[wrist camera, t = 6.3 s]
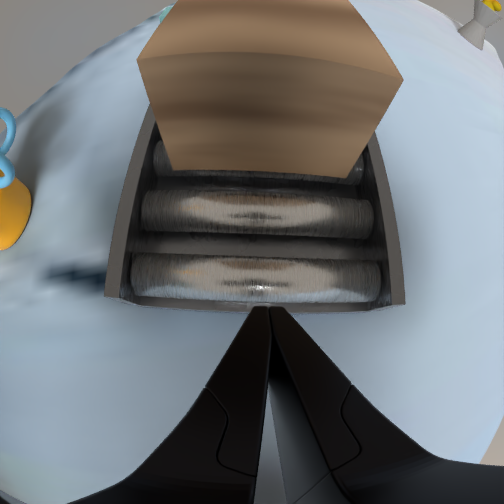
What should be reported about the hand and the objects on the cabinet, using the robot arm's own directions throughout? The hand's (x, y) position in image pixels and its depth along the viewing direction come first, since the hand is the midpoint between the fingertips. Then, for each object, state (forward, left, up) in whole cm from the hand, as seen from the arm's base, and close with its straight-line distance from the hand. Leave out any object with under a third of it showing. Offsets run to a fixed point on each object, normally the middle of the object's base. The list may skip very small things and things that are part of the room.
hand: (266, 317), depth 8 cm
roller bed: (+8, +5, -7) cm, 12 cm away
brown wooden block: (+11, +6, -4) cm, 13 cm away
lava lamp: (+87, -17, -7) cm, 89 cm away
